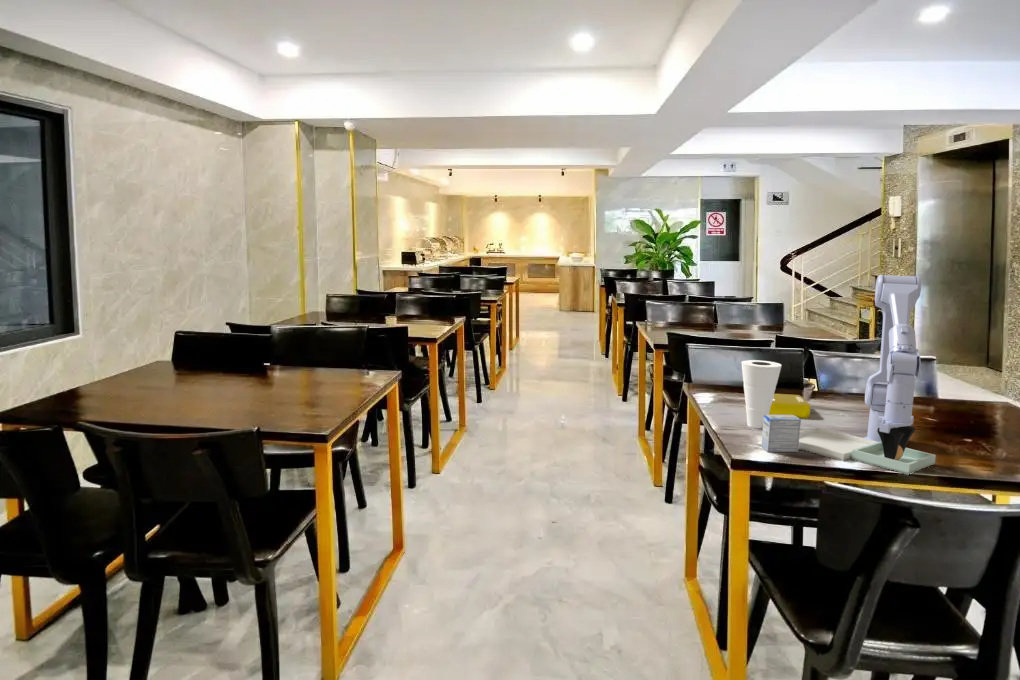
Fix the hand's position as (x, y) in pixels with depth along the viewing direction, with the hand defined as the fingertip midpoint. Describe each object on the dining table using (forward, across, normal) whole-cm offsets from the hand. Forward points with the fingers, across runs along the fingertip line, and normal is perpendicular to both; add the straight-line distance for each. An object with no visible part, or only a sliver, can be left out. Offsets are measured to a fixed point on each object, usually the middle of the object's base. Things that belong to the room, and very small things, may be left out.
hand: (893, 456), depth 178 cm
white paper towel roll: (+2, -3, -38) cm, 38 cm away
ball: (-1, 0, 0) cm, 1 cm away
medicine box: (+2, +13, -22) cm, 26 cm away
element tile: (+2, -25, -44) cm, 51 cm away
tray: (+1, 0, -16) cm, 16 cm away
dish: (+1, 0, 0) cm, 1 cm away
